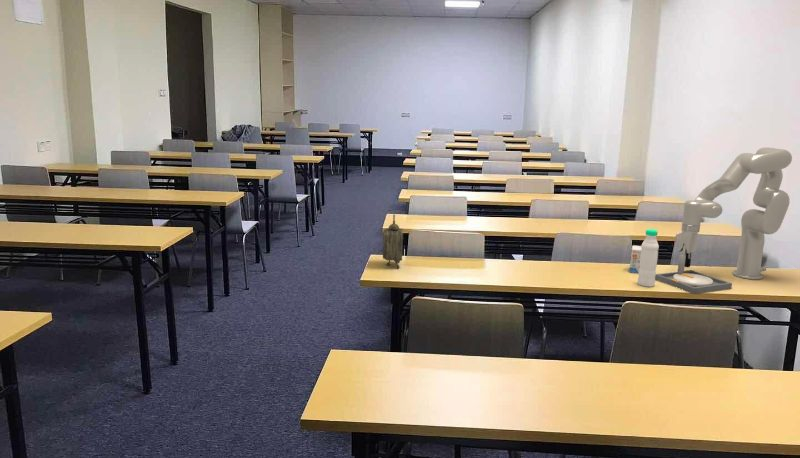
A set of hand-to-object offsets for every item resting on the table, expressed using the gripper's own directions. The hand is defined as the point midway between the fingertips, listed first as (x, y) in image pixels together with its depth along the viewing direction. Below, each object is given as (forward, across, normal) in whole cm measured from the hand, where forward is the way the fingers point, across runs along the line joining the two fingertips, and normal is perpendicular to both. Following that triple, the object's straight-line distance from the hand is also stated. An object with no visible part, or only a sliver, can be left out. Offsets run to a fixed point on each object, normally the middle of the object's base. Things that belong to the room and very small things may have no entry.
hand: (685, 266), depth 280 cm
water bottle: (+5, +26, -7) cm, 27 cm away
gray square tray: (+5, +8, +6) cm, 12 cm away
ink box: (+5, +7, -19) cm, 21 cm away
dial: (+4, +8, +6) cm, 11 cm away
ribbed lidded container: (+6, +89, -103) cm, 136 cm away
